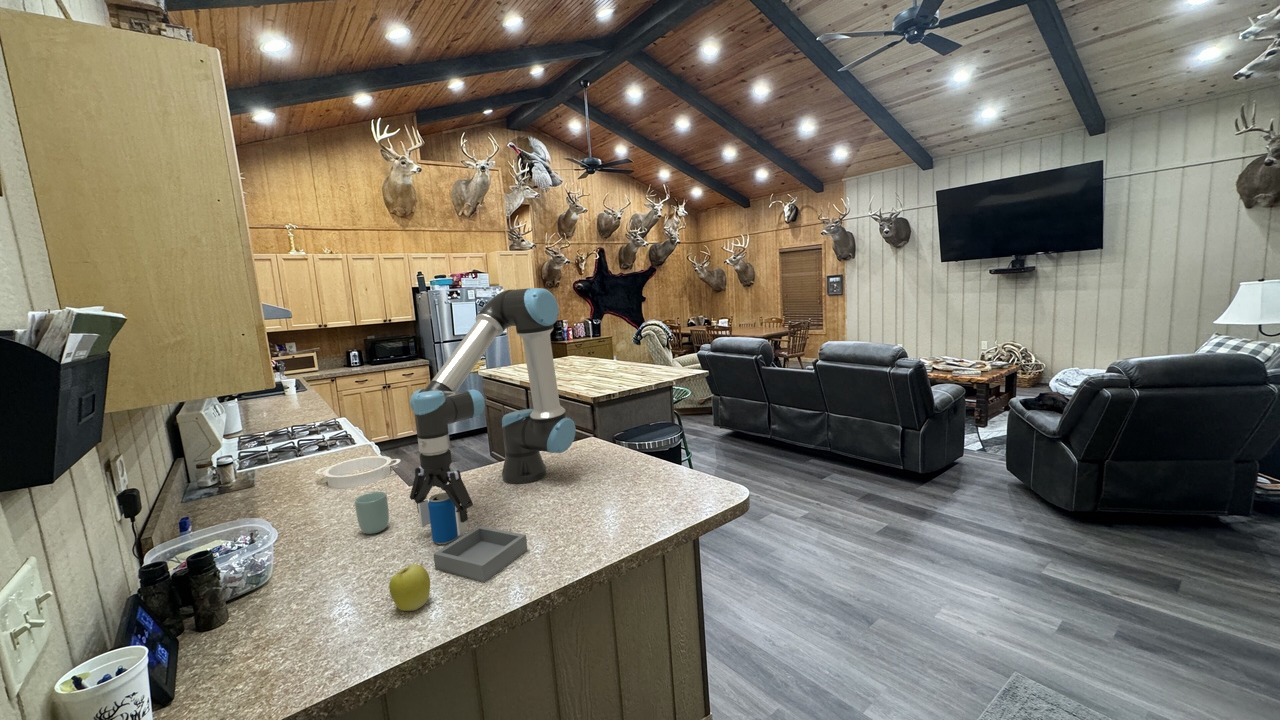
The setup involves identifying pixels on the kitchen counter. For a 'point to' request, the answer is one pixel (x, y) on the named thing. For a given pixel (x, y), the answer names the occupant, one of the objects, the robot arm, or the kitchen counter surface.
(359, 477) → the oval baking dish
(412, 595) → the apple
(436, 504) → the beverage can
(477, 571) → the bin
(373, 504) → the cup
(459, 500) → the robot arm
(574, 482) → the kitchen counter surface
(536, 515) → the kitchen counter surface
